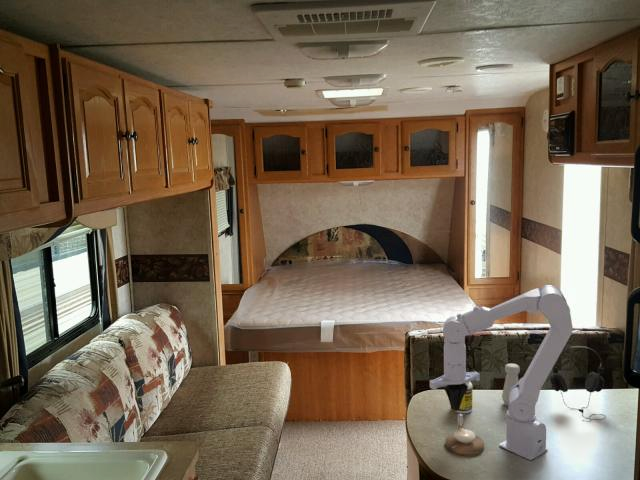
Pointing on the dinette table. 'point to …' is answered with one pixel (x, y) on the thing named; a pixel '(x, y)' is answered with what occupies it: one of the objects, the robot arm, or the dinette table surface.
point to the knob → (463, 432)
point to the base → (464, 446)
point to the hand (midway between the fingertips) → (455, 409)
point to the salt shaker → (510, 380)
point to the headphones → (591, 383)
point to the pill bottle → (466, 400)
